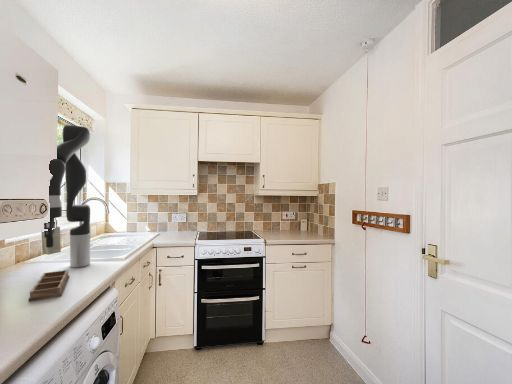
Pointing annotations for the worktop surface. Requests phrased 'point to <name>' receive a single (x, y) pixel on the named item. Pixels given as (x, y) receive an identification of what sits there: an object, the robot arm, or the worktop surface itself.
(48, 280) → the tray
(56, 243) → the box
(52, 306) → the worktop surface
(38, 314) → the worktop surface
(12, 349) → the worktop surface
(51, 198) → the robot arm
